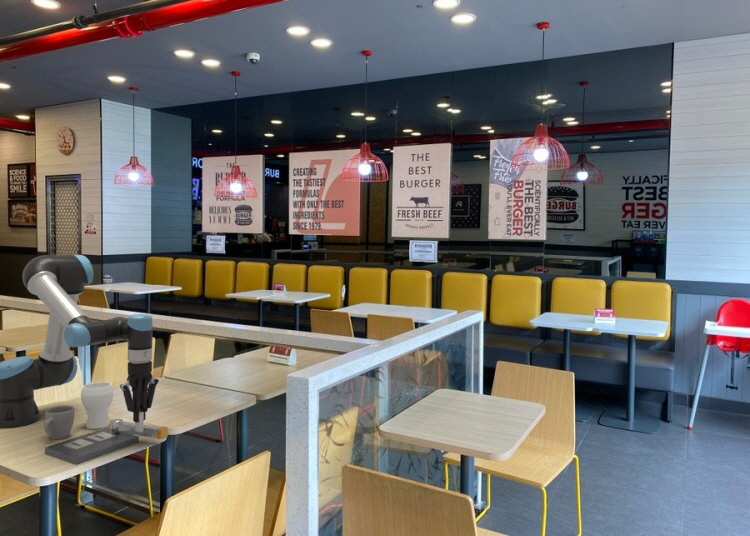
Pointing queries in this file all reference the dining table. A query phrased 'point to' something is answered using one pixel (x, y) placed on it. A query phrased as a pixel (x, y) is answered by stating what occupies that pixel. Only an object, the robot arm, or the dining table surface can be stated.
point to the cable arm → (129, 428)
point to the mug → (59, 421)
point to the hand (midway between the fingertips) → (139, 430)
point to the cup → (97, 403)
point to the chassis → (91, 445)
